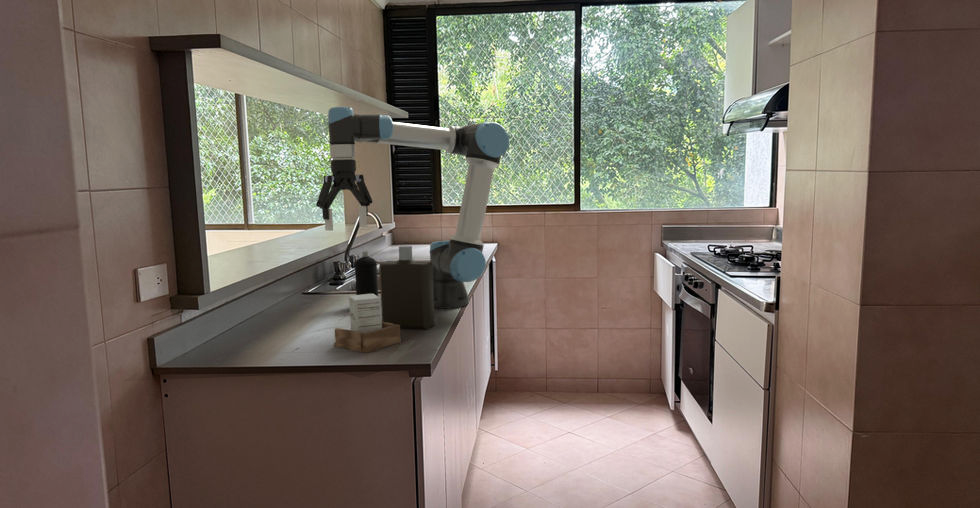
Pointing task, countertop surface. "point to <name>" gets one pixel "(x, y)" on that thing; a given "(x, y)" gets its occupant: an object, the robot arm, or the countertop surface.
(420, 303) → the bottle
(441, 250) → the robot arm
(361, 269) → the aerosol can
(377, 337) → the u rest
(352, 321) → the supplement box
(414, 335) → the countertop surface
